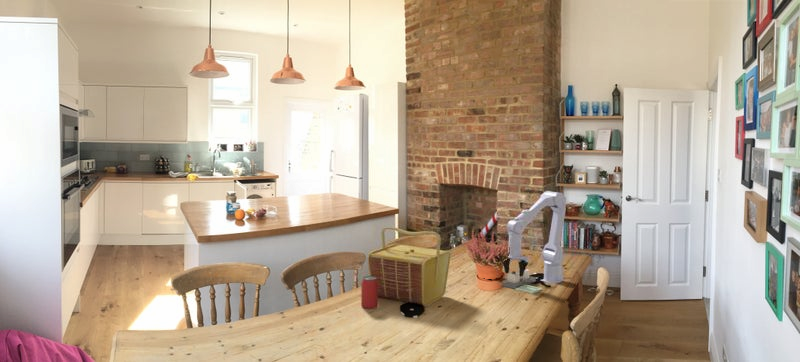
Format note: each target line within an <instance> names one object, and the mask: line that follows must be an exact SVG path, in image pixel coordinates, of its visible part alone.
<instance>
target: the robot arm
mask: <svg viewBox="0 0 800 362" xmlns="http://www.w3.org/2000/svg"><path fill="white" fill-rule="evenodd" d="M566 201H567V197H566V195H565V194H564V193H563V192H557V191H556V192H555V191H550V190H545V191H544V192H543V193H542V194H541V195H540V197H539V199H538V200H537V201H536V202H535V203H534V204H533V205H532V206H530V208H529V209H524V210H522V211H521V212H520V214H519V215H518V216H516V217H514V219H511V220H509V221H508V223H507V225H506V231H507V234H508V248H509V247H510V254H509V256H508V259H507V260H505V261H504V262H503V263H502V267H503V269H504V274H508V273H510V262H511V260H516V261H518V267H519V268H518V270H519V276H520V277H521V276H523V274H524V270H525V268H527V266H528V264H529V262H530V257H529V256H524V255H523V254H522V233H523V232H524V231H525V228H526V227H527V226H528V225H529V223H530V222H532V221H533V220H534V218H535V215H537V214H538V213H539V212H540V211H542V210H543V209H544V208H545V207H550V209H551V210H552V211H553V212H552V217H551V225H550V226H551V227H550V230H549V231H550V232H549V236H548V242H547V243H546V244H545V245H543V246H544V247H543V250H542V252H541V258H542V260H543V263H544V265H543V266H544V268H543V270H544V271H543V272H544V273H543V279H540V281H542V282H546V283H551V284H554V285H555V284H559V283H561V282H564V281H565V279H563V272H564V269H563V267H564V266H563V265H562V263H563V262H564V259H565V258H564V257H565V255H564V249H563V247H562V246H561V241H562V235H563V230H564V229H563V228H564V223H565V217H566V210H567V208H566Z"/></svg>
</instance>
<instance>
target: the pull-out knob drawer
mask: <svg viewBox="0 0 800 362" xmlns="http://www.w3.org/2000/svg"><path fill="white" fill-rule="evenodd" d="M526 268H527V267H526ZM526 268H525V270H524V274H523V276H521V277H520V278H522V279H524V280H527V279H529V276H530V273H531V272H530V269H526ZM517 273H519V269H518V270H517Z"/></svg>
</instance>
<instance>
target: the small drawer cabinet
mask: <svg viewBox="0 0 800 362" xmlns="http://www.w3.org/2000/svg"><path fill="white" fill-rule="evenodd" d="M501 281H502V286H501V287H505V288H509V289H514V290H516V288H518V287H520V286H523V285H531V284H534V283H536V281H537V278H536V277H534V276H530V275H529V279H527V280H524V279H522V278H520V282H519V283H516V284H515V283H510V282H508V278H507V279H504V280H501Z"/></svg>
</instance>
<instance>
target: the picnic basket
mask: <svg viewBox="0 0 800 362" xmlns="http://www.w3.org/2000/svg"><path fill="white" fill-rule="evenodd" d="M386 230H393V231H396V232H398V233H399V234H402V235H406V236H413V237H416V236H423V235H425V234H426V235H433V236H434V235H435V236H436V239H437V244H436V249H435V248H428V247H420V246H413V245H407V244H401V243H400V244H399V243H392V244H390V245H386V240H385V236H386V235H385V232H386ZM380 234H381V247H380V248H378V249H375V250H372V251H370V252H369V253H368V255H367V266H368V270H369V272H368V273H369V276H373V277H376V280H377V283H378V295H377V297H382V298H387V299H390V300H391V299H392V300H396V301H401V302H402V301H403V302H406V303H410V304H411V303H412V304H416V303H417V305H422V306H424V307H428V306H430V305H432V304H434V303H436V302H437V301H438V300H441V299H442V298H443V296H444V295H445V293H446V289H447V282H448V274H449V268H450V262H451V251H450V250H441V240H442V238H441V235H440V234H439V233H438V232H435V231H425V230H424V231H408V230H404V229H401V228H398V227H393V226H385V227H383V228H382V229H381V233H380Z"/></svg>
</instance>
